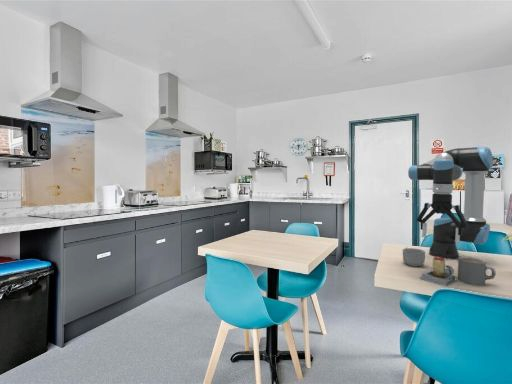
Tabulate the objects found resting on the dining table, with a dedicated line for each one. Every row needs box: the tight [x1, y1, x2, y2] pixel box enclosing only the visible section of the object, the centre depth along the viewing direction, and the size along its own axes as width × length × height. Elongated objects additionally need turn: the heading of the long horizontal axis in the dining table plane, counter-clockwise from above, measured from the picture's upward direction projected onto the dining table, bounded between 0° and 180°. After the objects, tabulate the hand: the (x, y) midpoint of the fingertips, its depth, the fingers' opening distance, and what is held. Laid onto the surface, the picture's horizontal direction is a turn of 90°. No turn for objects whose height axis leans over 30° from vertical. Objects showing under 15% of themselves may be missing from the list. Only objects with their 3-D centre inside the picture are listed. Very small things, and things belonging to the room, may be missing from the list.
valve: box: [431, 256, 447, 279], centre depth 129 cm, size 6×6×10 cm
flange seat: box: [419, 264, 458, 287], centre depth 131 cm, size 17×11×5 cm, turn 126°
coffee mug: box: [456, 256, 497, 287], centre depth 127 cm, size 13×10×10 cm
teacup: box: [402, 247, 426, 267], centre depth 154 cm, size 14×11×8 cm
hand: (440, 239), depth 130 cm, fingers open, 13 cm apart
